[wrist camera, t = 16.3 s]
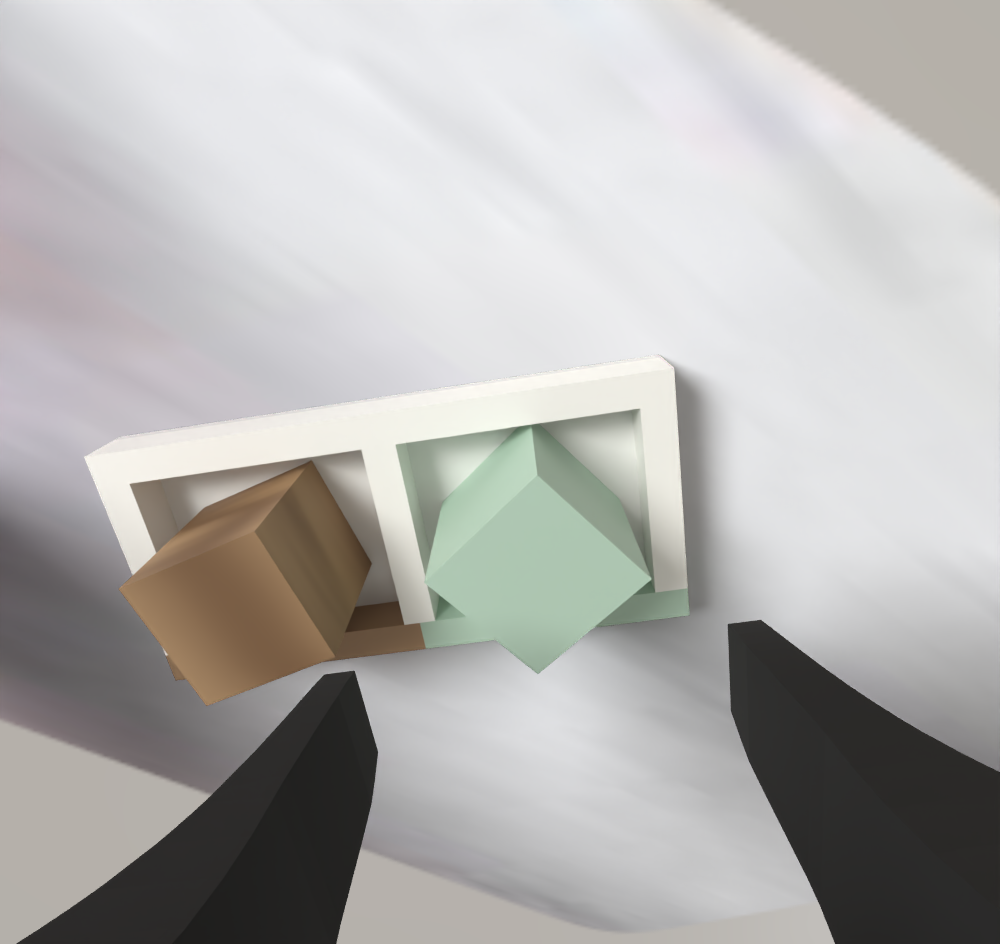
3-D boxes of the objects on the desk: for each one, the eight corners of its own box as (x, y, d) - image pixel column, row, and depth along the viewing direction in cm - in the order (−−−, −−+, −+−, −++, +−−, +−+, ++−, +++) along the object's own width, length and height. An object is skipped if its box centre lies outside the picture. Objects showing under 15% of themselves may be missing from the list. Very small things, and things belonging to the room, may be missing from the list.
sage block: (442, 501, 21) (424, 582, 16) (529, 415, 20) (536, 475, 15) (530, 577, 22) (537, 674, 17) (619, 498, 21) (651, 578, 16)
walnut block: (269, 604, 22) (206, 705, 18) (204, 507, 21) (118, 589, 16) (372, 563, 22) (335, 656, 17) (311, 460, 20) (254, 531, 16)
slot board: (200, 645, 24) (175, 680, 22) (120, 436, 21) (84, 456, 19) (674, 584, 22) (689, 615, 21) (659, 354, 20) (674, 367, 18)
